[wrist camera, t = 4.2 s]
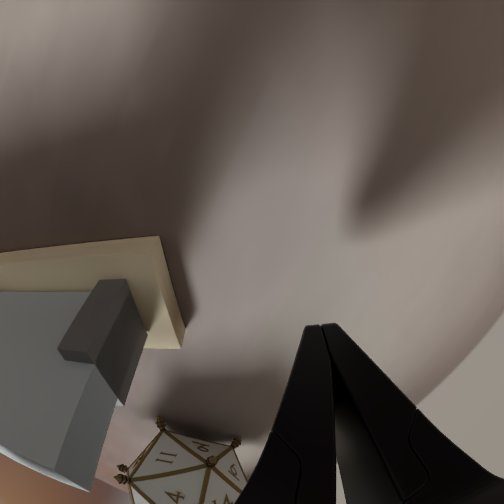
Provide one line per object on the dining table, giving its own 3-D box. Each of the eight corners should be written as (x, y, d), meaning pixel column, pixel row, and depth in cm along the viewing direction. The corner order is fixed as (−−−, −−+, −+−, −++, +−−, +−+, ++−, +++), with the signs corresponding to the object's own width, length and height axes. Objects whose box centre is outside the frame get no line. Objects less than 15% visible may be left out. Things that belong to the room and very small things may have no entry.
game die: (197, 375, 18) (218, 459, 9) (264, 453, 19) (319, 538, 9) (98, 433, 16) (62, 524, 6) (173, 502, 17) (184, 594, 7)
